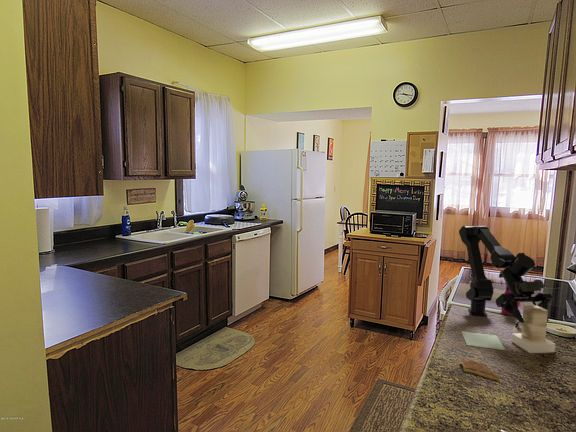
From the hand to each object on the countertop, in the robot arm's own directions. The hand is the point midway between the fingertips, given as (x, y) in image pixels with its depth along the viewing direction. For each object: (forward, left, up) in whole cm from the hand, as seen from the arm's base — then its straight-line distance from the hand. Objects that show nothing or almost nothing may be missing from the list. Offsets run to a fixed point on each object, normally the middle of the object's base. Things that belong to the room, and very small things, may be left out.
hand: (535, 322), depth 130 cm
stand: (0, 0, -9) cm, 9 cm away
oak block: (0, 0, -6) cm, 6 cm away
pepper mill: (-36, +2, -9) cm, 37 cm away
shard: (+23, -21, -10) cm, 33 cm away
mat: (0, -16, -9) cm, 18 cm away
